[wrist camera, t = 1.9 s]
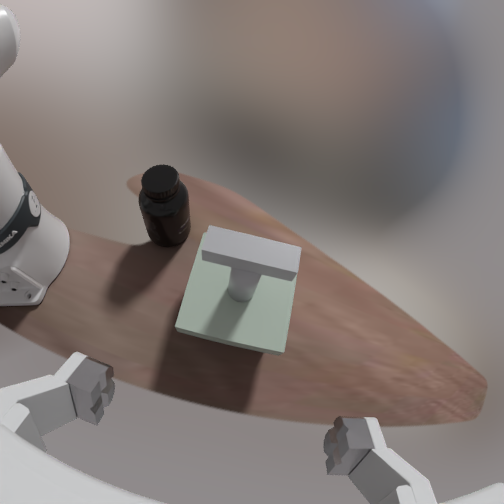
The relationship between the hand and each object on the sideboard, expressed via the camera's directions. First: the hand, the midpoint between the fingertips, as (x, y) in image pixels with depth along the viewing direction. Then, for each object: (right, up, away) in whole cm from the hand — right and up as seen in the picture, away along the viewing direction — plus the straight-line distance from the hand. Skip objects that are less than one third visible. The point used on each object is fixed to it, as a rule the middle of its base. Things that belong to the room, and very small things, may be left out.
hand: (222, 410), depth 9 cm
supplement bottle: (-12, +9, +36) cm, 39 cm away
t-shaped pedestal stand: (-1, 0, +27) cm, 27 cm away
